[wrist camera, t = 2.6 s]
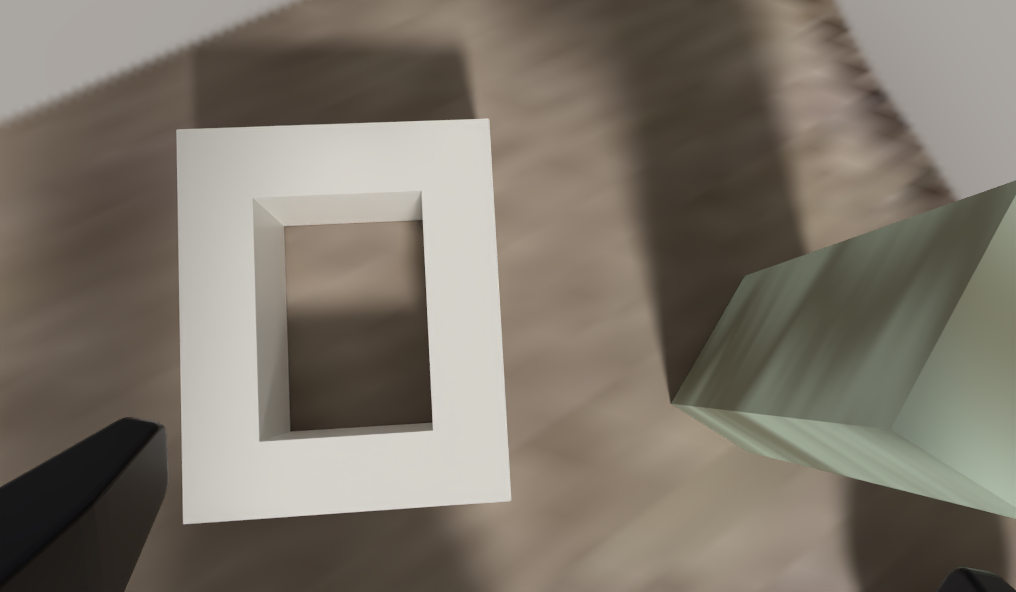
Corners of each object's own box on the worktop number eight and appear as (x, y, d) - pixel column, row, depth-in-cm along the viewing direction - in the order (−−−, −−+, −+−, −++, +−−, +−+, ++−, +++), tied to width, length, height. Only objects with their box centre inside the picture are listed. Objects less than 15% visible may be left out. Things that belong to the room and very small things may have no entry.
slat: (748, 451, 26) (1046, 526, 13) (671, 403, 26) (890, 429, 13) (820, 323, 26) (1173, 269, 13) (744, 275, 26) (1024, 177, 13)
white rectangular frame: (502, 481, 25) (511, 500, 21) (227, 500, 24) (183, 524, 20) (483, 158, 26) (489, 118, 22) (219, 168, 25) (176, 129, 21)
